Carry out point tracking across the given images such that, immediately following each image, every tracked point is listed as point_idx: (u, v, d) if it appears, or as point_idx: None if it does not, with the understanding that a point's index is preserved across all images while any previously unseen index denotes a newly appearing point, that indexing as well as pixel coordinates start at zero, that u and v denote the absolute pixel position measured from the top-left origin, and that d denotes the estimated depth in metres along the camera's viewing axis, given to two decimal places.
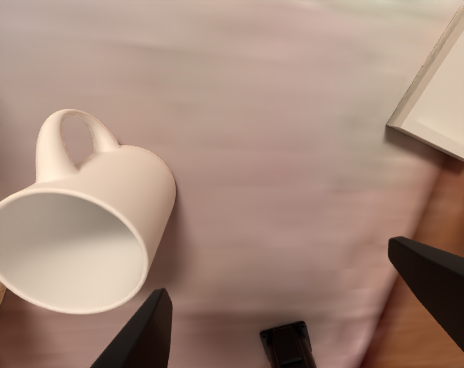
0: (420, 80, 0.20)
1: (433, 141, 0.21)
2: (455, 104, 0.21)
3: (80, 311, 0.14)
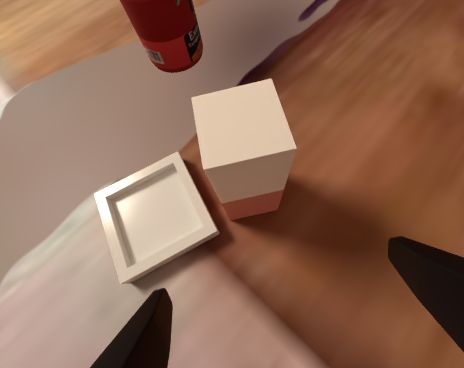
0: None
1: (157, 261, 0.21)
2: (154, 226, 0.23)
3: None
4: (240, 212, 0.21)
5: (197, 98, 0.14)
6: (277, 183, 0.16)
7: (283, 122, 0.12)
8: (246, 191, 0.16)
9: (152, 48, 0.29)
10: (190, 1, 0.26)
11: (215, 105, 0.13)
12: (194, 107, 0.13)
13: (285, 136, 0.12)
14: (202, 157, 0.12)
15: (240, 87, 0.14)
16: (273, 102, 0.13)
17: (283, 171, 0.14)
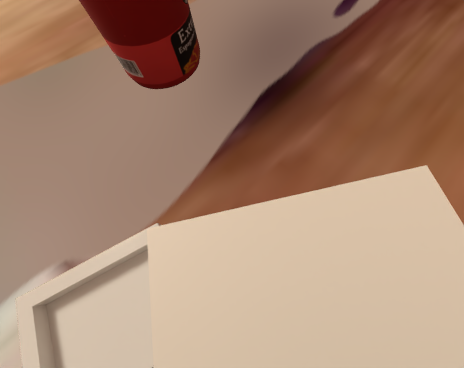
0: None
1: None
2: (114, 363, 0.13)
3: None
4: None
5: (167, 234, 0.04)
6: None
7: None
8: None
9: (123, 54, 0.19)
10: None
11: (231, 273, 0.04)
12: (154, 275, 0.04)
13: None
14: None
15: (318, 197, 0.04)
16: None
17: None
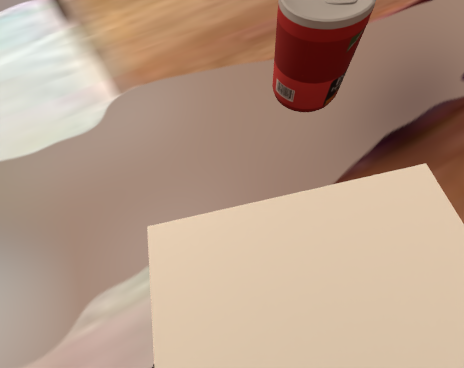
0: None
1: None
2: None
3: None
4: None
5: (167, 232, 0.04)
6: None
7: None
8: None
9: (289, 84, 0.25)
10: (357, 44, 0.22)
11: (231, 270, 0.04)
12: (155, 272, 0.04)
13: None
14: None
15: (317, 195, 0.04)
16: None
17: None
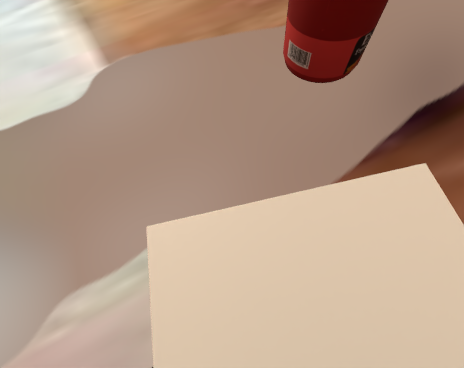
0: None
1: None
2: None
3: None
4: None
5: (167, 232, 0.04)
6: None
7: None
8: None
9: (305, 45, 0.20)
10: None
11: (231, 270, 0.04)
12: (154, 272, 0.04)
13: None
14: None
15: (317, 194, 0.04)
16: None
17: None
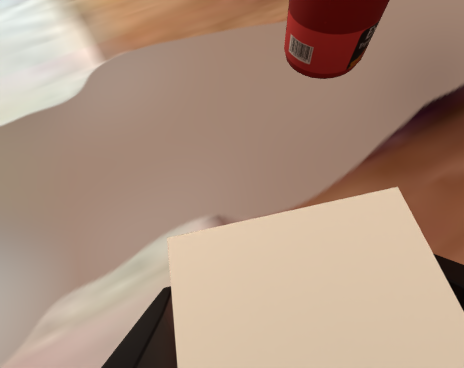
0: None
1: None
2: None
3: None
4: None
5: (184, 242, 0.05)
6: None
7: None
8: None
9: (306, 39, 0.20)
10: None
11: (237, 274, 0.04)
12: (174, 276, 0.05)
13: None
14: None
15: (308, 212, 0.05)
16: (425, 281, 0.04)
17: None
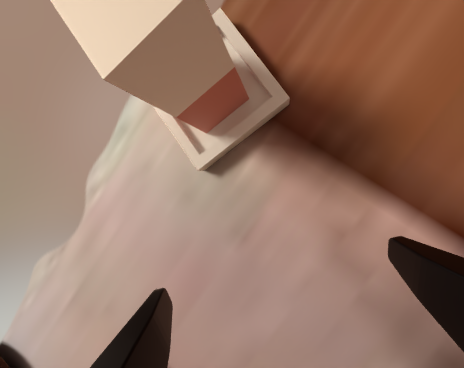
0: None
1: (229, 143, 0.20)
2: None
3: None
4: (208, 119, 0.19)
5: None
6: (219, 60, 0.13)
7: None
8: (190, 88, 0.13)
9: None
10: None
11: None
12: (52, 0, 0.09)
13: None
14: (94, 64, 0.09)
15: None
16: None
17: (211, 37, 0.11)
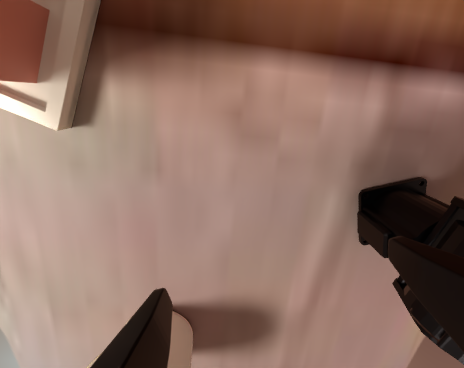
0: None
1: (65, 79, 0.16)
2: None
3: None
4: (13, 62, 0.14)
5: None
6: None
7: None
8: None
9: None
10: None
11: None
12: None
13: None
14: None
15: None
16: None
17: None
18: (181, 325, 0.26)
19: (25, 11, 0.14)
